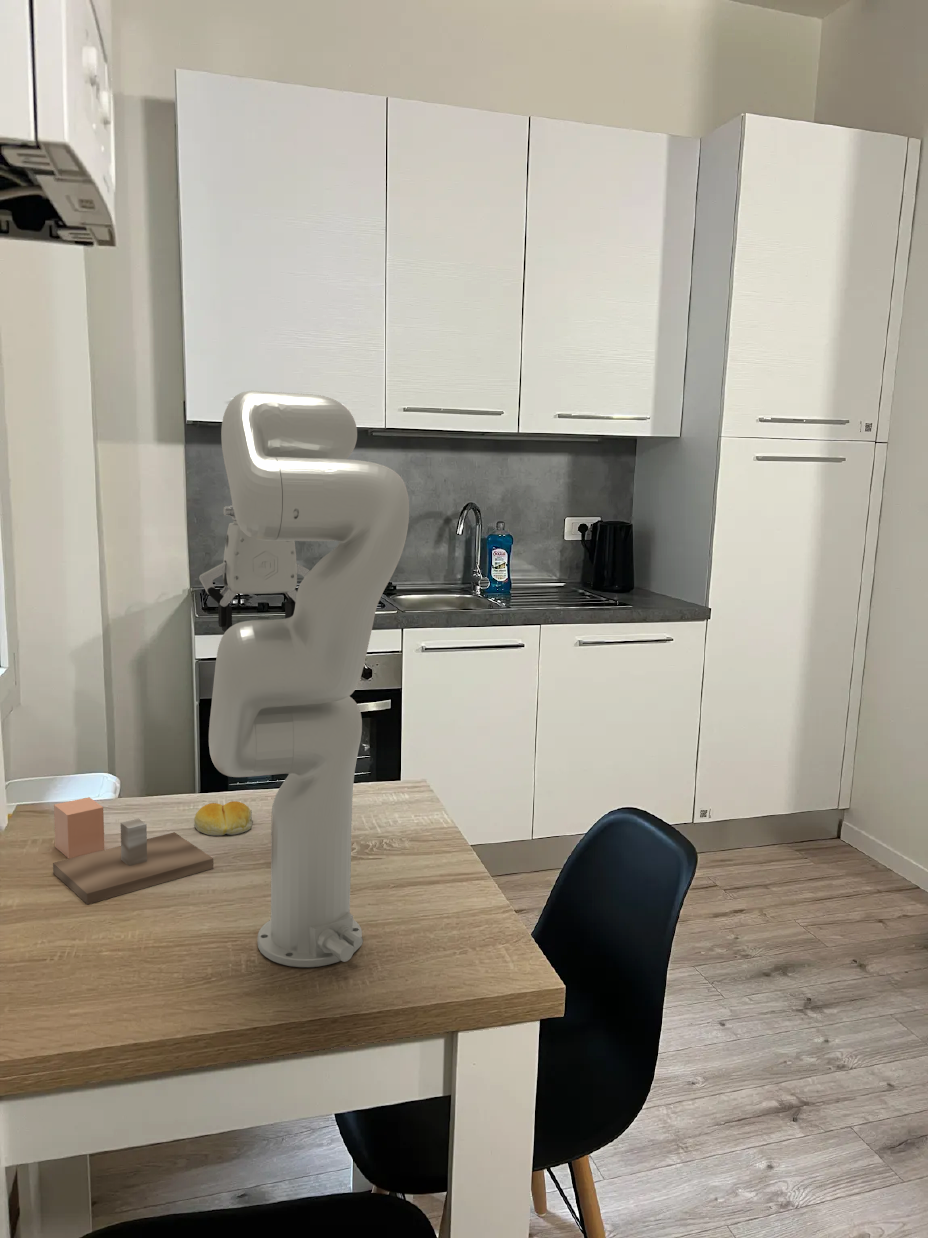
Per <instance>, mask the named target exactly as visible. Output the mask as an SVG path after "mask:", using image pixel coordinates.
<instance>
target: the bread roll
mask: <svg viewBox="0 0 928 1238" xmlns="http://www.w3.org/2000/svg"><path fill="white" fill-rule="evenodd" d="M252 815H253V814H252V809H251V808H250V807H249V806H248V805H246V804H245V803H243V802H240V801H229V802H227V803H225V804H221V803H217V802H215V803H214V802H211V803H208V804H205V805H203V806H201V807H200V809H198V811H197V812H196V814H195V816H194V819H193V822H194V823H193V825H194V827H195V829H196V830H197V831H198V832H200V833H202V834H204V835H208V836H211V837H212V836H215V837H217V836H224V835H228V836H235V835H240V834H243V833H246V832H248V831H249V830H251V829H252V825H253V817H252Z"/></svg>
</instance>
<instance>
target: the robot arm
mask: <svg viewBox="0 0 928 1238" xmlns="http://www.w3.org/2000/svg"><path fill="white" fill-rule="evenodd" d="M220 431H221V432H220V433H221V435H220V437H221V451H222V456H223V462H224V467H225V468H224V469H225V471H226V476H227V481H228V486H229V493H230V497H231V504H230V505H228V506H227V505H226V506H223V512H222V514H223V516H228V517H231V520H233V521H232V522H230V523H228V526H227V527H228V528H227V531H226V532H227V533H226V538H225V545H224V553H223V562H222V563H220V564H218V565H216V566H214V567H213V568H211V569H209V570H207V571H205V572H203V573H202V574H201V573H200V575H199V578H198V579H199V581H200V582H201V584H202V586H203V588H204V589H205V592H206V594H207V595H209V597H211V599H213V600H214V601H215V602H216V604H217V605H218V608H217V610H218V611H217V613H218V615H217V616H218V617H217V619H218V620H217V621H218V622H217V623H218V627H220V628H221V630H222V632H224V633H223V635H222V636H221V638H220V641H219V644H218V648H217V652H216V660H215V665H214V666H215V667H214V676H213V685H212V687H213V688H212V695H211V706H210V716H209V724H208V725H209V727H208V747H209V755H210V758H211V759H210V760H211V761H212V763H213V765H214V767H215V768H216V770H217V771H218V772H219V773H221V774H222V775H224V776H227V777H230V778H232V777H233V778H246V777H247V778H249V777H251V778H252V777H260V776H272V775H283V774H286V775H287V774H288V775H287V777H285V779H284V780H283V782H282V784H281V786H280V787H279V788H278V791H277V793H276V794H275V797H274V799H273V803H272V807H271V818H270V819H271V829H270V832H271V833H270V835H271V839H270V845H271V846H270V847H271V848H270V853H271V854H270V860H271V861H270V875H271V876H270V920H268V921H267V922H266V923H264V924H263V925H262V926H261V927H260V929H259V930H258V933H257V947H258V950H259V951H260V953H261V954H262V955H263V956H264V957H265V958H267V959H268V960H270V961H271V962H274V963H276V964H279V965H282V966H288V967H294V968H315V967H317V968H318V967H323V966H330V965H332V964H336V963H339V962H343V963H344V962H345V963H346V962H348V961H350V959H352V957H353V954H354V953H355V952H357V950H358V949H360V947H362V945H363V942H364V940H363V935H362V934H363V931H362V930H363V929H362V927H361V926H360V924H359V923H358V922H357V921H356V920H355V919H354V915H353V914H352V913H351V912H350V911H351V872H352V871H351V870H352V869H351V868H352V861H351V860H352V829H353V828H352V827H353V826H352V824H353V823H352V821H353V794H354V781H355V772H356V764H357V761H358V760H357V759H358V755H359V750H360V745H361V739H362V734H363V733H362V732H363V720H362V713H361V709H360V707H359V705H358V704H357V702H356V701H355V699H353V697H351V695H352V694H353V693H354V692H355V690H356V689H357V688H358V685H359V683H360V680H361V677H362V674H363V671H364V668H365V667H364V665H365V662H366V657H367V654H368V650H369V644H370V640H371V634H372V630H373V626H374V620H375V615H376V611H377V607H378V604H379V603H380V601H381V598H382V595H383V593H384V591H385V589H386V588H387V586H388V584H389V582H390V580H391V578H392V576H393V575H394V572H395V571H396V568H397V567H398V564H399V563H400V559H401V557H402V554H403V550H404V548H405V545H406V539H407V535H408V529H409V521H410V519H409V518H410V501H409V493H408V488H407V486H406V483H405V481H404V479H403V478H402V477H401V476H400V474H399V473H397V472H396V471H395V470H394V469H392V468H390V467H388V466H387V465H383V464H379V463H376V462H372V461H367V460H366V461H365V460H360V459H348V458H349V457H350V456H351V455H352V453H353V451H354V449H355V447H356V444H357V440H358V427H357V424H356V421H355V418H354V417H353V414H352V413H351V411H350V410H349V409H348V408H347V407H346V406H345V405H344V404H343V403H341V402H340V401H338V400H336V399H334V398H331V397H328V396H325V395H319V394H313V393H312V394H309V393H295V392H294V393H293V392H282V391H279V392H276V391H262V390H248V391H243V392H241V393H239V394H237V395H235V396H233V398H232V399H231V401H229V403H228V404H227V405H226V408H225V411H224V414H223V417H222V421H221V430H220ZM332 541H333V542H338V544H337V545H336V547H335V548H333V549H332V550H331V551H329V552H328V553H327V554H326V555H324V556H323V557H321V559H319V560H318V562H317V563H315V564H314V566H313V567H312V568H311V570H310V569H309V568H307V567H304V566H303V565H301V564H299V563H297V553H296V552H297V551H296V544H295V543H296V542H332ZM298 575H300V576H302V577H303V579H302V580H301V582H300V584H299V585H298ZM221 576H222V582H223V583H222V584H223V586H224V587H223V588H222V589H221V590H220V591H219V590H218V589H217V588H215V587H216V586H215V585H214V584H213V583H214V580H215V579H217V578H219V577H221ZM297 586H298V587H297ZM281 593H282V594H285V596H286V597H287V600H286V601H285V603H284V609H285V610H284V618H283V619H282V618H280V619H279V618H278V619H276V618H275V619H255V620H252V619H251V620H244V621H239V622H237V623H235V624H233V607H232V606H231V605H230V603H231V601H233V599H234V597H236V596H237V594H239V595H255V594H256V595H257V594H259V595H260V594H281Z"/></svg>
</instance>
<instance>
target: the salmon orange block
mask: <svg viewBox="0 0 928 1238" xmlns="http://www.w3.org/2000/svg"><path fill="white" fill-rule="evenodd" d="M53 813H54V818H53V819H54V821H53V822H54V847H55V848H56V849H57V850H58V851H59V852H60V853H61V854H62V855H64V856H65V857H66V858H67V859H70V858H74V857H78V856H82V855H86V854H90V853H94V852H98V851H102V850H105V829H104V828H105V825H104V823H105V822H104V807H103V806H102V805H101V804H99V803H98V802H97V801H96V800H94V799H92V798H91V797H89V796H88V797H84V798H79V799H74V800H69V801H65V802H61V803H55V804H53Z"/></svg>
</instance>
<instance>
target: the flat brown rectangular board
mask: <svg viewBox="0 0 928 1238" xmlns="http://www.w3.org/2000/svg"><path fill="white" fill-rule="evenodd" d="M147 834H148V831H147V823H145V821H143V820H142V819H140V818H134V819H130V820H126V821H122V822H120V845H119V846H114V847H110V848H106V849H104V850H101V851H97V852H94V853H90V854H86V855H82V856H78V857H74V858H70V859H68V858H67V859H63V860H58V861H55V862H52V873H53V875H54V876H56V877H57V878H58V879H59V880H60V882H62V883H64V885H65V886H67V887H68V888H69V889H70V890H71V891H72V892H73V893H74V894H75V895H76V896H78V897H79V898H80V899H81V901H83V902H84V903H85V904H86V905H90V904H93V903H98V902H100V901H101V902H102V901H104V900H108V899H112V898H115V897H118V896H122V895H125V894H129V893H133V892H135V891H139V890H143V889H145V888H146V889H147V888H150V887H154V886H156V885H160V884H162V883H163V884H164V883H167V882H171V881H174V880H177V879H180V878H181V879H182V878H184V877H189V876H191V875H194V874H199V873H203V872H205V871H209V870H212V869H214V857H212V856H211V855H209V854H208V853H206V852H205V851H203V850H202V849H200V848H198V847H197V846H196V845H194V844H193V843H191V842H190V841H188V840H187V839H185V838H184V837H183V836H181V835H179V834H177V832H170V833H166V834H163V835H159V836H154V837H151V838H148V835H147Z"/></svg>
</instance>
